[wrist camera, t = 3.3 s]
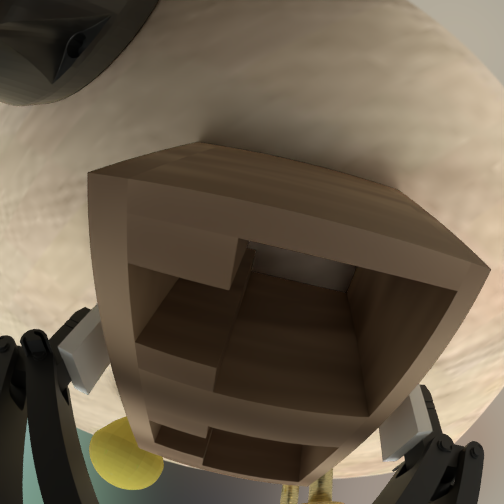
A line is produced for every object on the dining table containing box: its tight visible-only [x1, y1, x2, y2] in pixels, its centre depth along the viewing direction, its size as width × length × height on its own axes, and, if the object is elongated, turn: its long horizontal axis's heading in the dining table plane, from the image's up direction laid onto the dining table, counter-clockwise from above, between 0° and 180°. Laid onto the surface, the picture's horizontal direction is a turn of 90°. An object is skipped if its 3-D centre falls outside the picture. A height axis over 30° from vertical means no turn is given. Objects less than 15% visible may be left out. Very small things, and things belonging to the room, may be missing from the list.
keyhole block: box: [88, 142, 491, 486], centre depth 12 cm, size 15×10×8 cm, turn 170°
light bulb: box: [89, 416, 164, 490], centre depth 19 cm, size 7×7×10 cm
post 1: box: [280, 484, 299, 504], centre depth 19 cm, size 3×3×10 cm
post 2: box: [303, 468, 344, 504], centre depth 16 cm, size 3×3×10 cm
